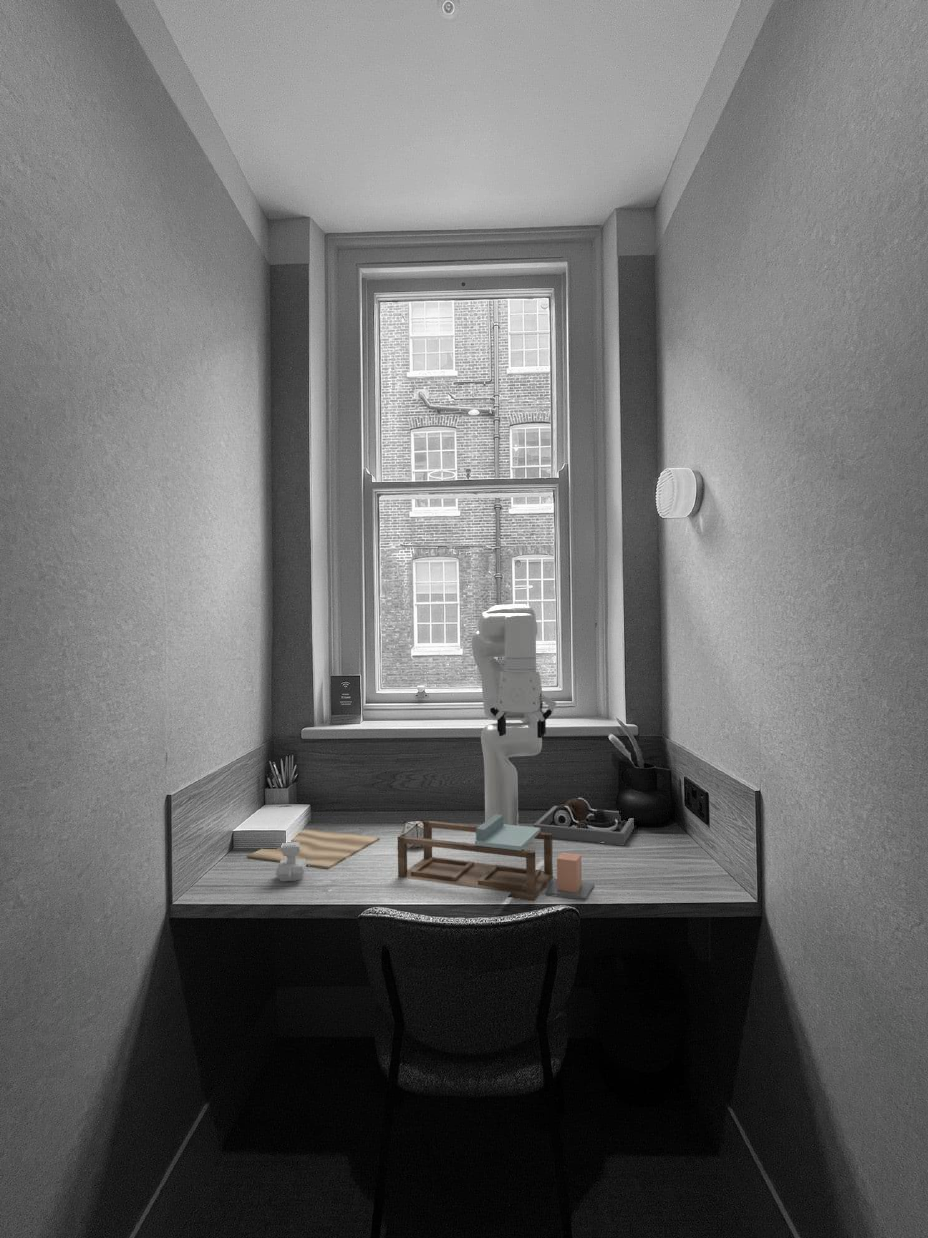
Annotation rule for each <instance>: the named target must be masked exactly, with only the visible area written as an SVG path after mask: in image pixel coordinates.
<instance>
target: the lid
mask: <svg viewBox="0 0 928 1238" xmlns="http://www.w3.org/2000/svg"><path fill="white" fill-rule="evenodd" d="M478 826H479V827H478V828H476V832H475V840H474V844H475V846H483V847H492V848H501V849H510V850H518V851H522V850H525V848H526V846H528V845H529V844H530V843H531V842H532V841H533V840H534V838H535V837H536V836H537V835H538V834H539V833H540V828H536V827H534V826H525V825H524V826H523V825H518V826H516V825H506V824H503V815H497V814H495V815H494V816H493V817H491V818H490V819H489V820H487V821H486V822H485V821H484V822H483V823H482V824H480V825H478Z"/></svg>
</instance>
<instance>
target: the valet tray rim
mask: <svg viewBox="0 0 928 1238" xmlns="http://www.w3.org/2000/svg"><path fill="white" fill-rule="evenodd" d="M558 806H559V805H553V806H552V807H551V808H550V809H549V810H548V811H547V812H546V813H545V814H544V815H543V816H541V817H540V818H539V819H538V820H537V821H536V822H535V823H534V824H533V827H536V828H540V832H544V833H552V839H558V840H559V839H560V840H566V841H567V840H569V841H576V840H578V842H588V843H595V842H604V843H610V844H609V845H614V844H623V845H624V844H626V843H627V841H628V840H627V839H629V838H630V836H631V835H632V833H633V831H634V830H635V828H634V818H629V819H628V821H627V822H626V824H625V825H624V827H623V826H622V829H621V830H620V831H615V830H614V831H604V830H594V829H584V828H576V827H564V826H555V824H554V825H553V824H552V823H553V822H552V821H553V818H552V817H553V813H554V811H555V809H556V808H557V807H558ZM592 809H593V810H598V809H596V808H595V809H594V808H592ZM603 810H604V811H605V812H606V813H609V814H611V815H613V816H615V818H617V819H619V820H621V816H620V814H619V810H607V809H603ZM594 813H595V812H588V815H590V814H593V815H594ZM587 819H588V820H587V821H591V820H596V819H595V817H594V816H592V815H591V816H589V817H588V818H587ZM617 819H616V820H617ZM617 821H618V820H617ZM551 822H552V823H551ZM618 822H620V821H618ZM549 824H550V825H549ZM633 829H634V830H633ZM632 830H633V831H632ZM631 832H632V833H631ZM630 834H631V835H630ZM629 835H630V836H629ZM628 837H629V838H628ZM626 840H627V841H626ZM625 842H626V843H625ZM604 843H603V844H604ZM623 845H622V846H623ZM624 846H625V845H624Z"/></svg>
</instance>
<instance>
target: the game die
mask: <svg viewBox="0 0 928 1238" xmlns="http://www.w3.org/2000/svg"><path fill="white" fill-rule="evenodd" d="M423 819H424V818H423V817H422V818H421V819H420V820H416V821H415V820H414V821H413V820H412V821H406V820H405V819H403V822H404V825H403V828H402V831H401V833H400V835H399V836H408V837H417V838H424V835H423V822H424V821H423ZM399 836H397V839H398V837H399ZM415 848H424V846H422V845H414V844H407V849H415Z"/></svg>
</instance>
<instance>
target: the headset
mask: <svg viewBox="0 0 928 1238" xmlns="http://www.w3.org/2000/svg"><path fill="white" fill-rule="evenodd" d="M557 806H558V807H557V808H556V809H555V811H554V813H553V817H552V818H553V822H552V823H553V824H554V826H564V827H574V828H584V829H594V830H604V831H615V830H616V829H617V828H618V824H619V823H618V821H620V822H621V823H620V824H621V826H622V828H623V827H624V825H625V824H626V822H627V821H625V820H623V821H621V820H619V819H617V818H615V816H613V815H611V814H609V813H606V812H605V811H604V810H605V809H602V808H599V809H597V810H593V809H594V808H591V806H590V804H589V802H588V801H587V800H585V799H584V798H583V797H577V798H576V797H575V798H573V797H572V798H570V799H568V800H567V801H566V802H565V803H564V804H563V803H562V804H560V805H557ZM588 812H595V813H594V815H593V814H590V815H588ZM591 815H592V816H594V817H595V819H596V820H598V821H597V822H598V823H597V822H589V821H588V820H586V819H587V818H588V817H589V816H591ZM616 819H617V820H618V821H617V820H616ZM601 820H602V821H604V822H601Z"/></svg>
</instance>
